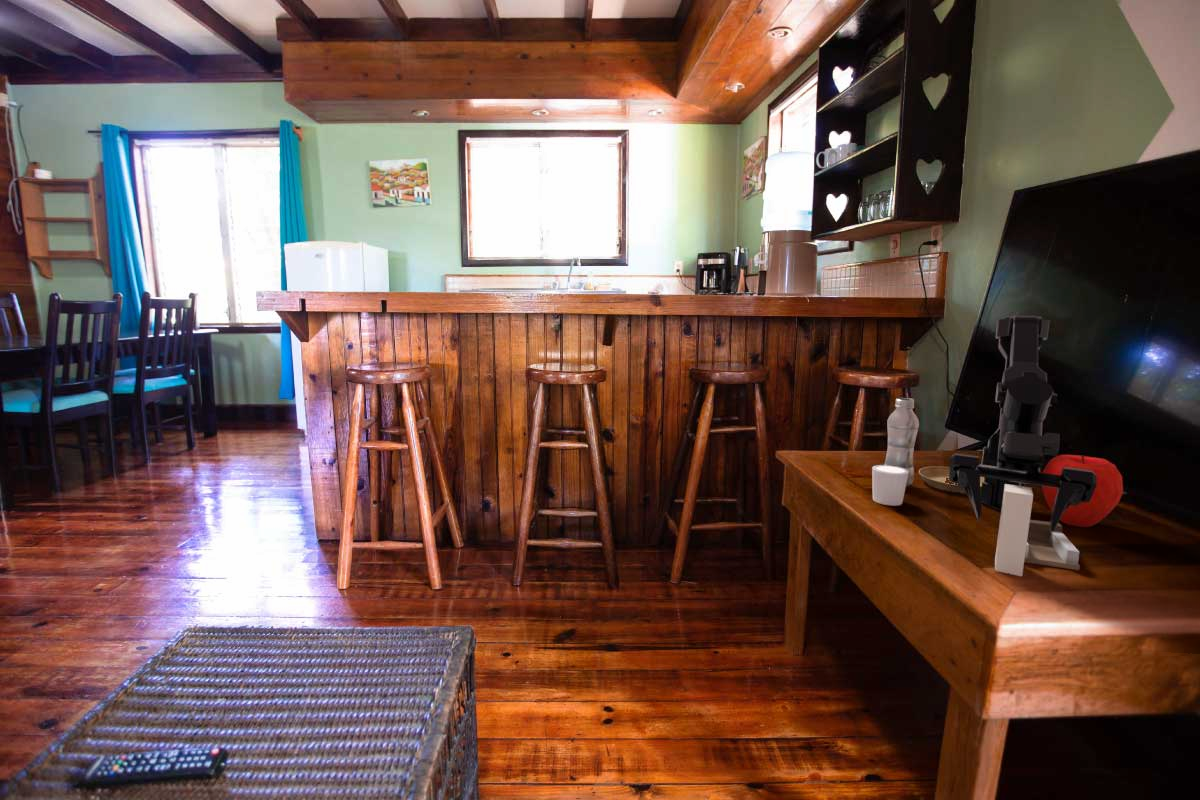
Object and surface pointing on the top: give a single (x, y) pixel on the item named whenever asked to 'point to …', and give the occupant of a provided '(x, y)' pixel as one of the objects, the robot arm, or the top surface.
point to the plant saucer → (941, 478)
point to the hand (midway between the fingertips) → (1014, 523)
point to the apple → (1102, 497)
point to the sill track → (1050, 547)
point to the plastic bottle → (902, 436)
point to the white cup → (889, 484)
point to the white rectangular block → (1013, 529)
